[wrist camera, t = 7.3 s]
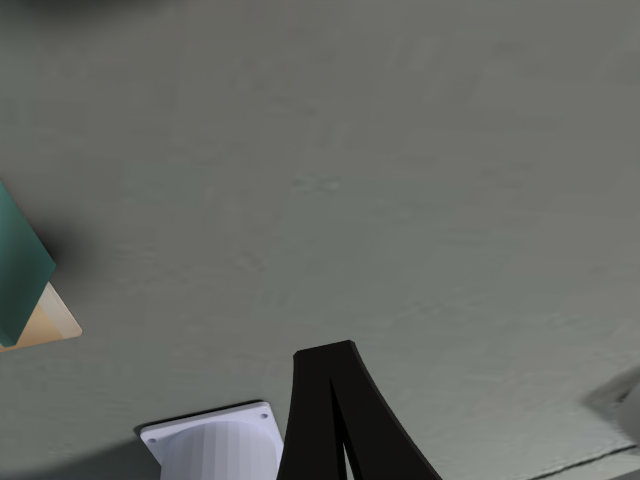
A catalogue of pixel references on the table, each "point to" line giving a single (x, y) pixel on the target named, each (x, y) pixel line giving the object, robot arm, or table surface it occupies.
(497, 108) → the table surface
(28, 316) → the beech block
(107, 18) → the table surface
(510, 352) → the table surface
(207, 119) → the table surface
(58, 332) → the tan flat rectangular panel
